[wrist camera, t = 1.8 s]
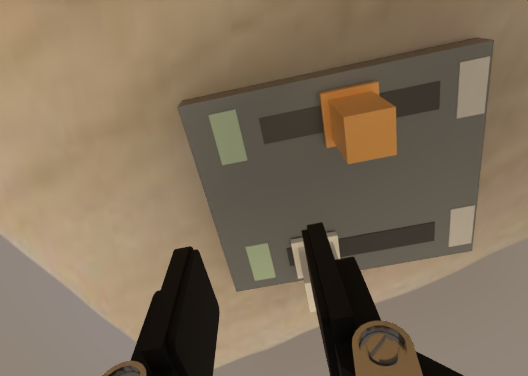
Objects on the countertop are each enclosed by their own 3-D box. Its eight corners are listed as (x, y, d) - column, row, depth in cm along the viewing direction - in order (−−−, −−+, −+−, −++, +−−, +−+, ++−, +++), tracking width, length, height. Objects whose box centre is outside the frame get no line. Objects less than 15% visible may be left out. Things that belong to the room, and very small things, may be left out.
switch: (336, 231, 29) (350, 270, 25) (340, 266, 31) (355, 309, 27) (290, 239, 29) (297, 279, 25) (297, 274, 31) (304, 317, 27)
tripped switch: (375, 80, 24) (404, 96, 19) (378, 134, 25) (405, 160, 21) (318, 92, 24) (334, 110, 19) (325, 145, 26) (340, 173, 21)
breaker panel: (476, 37, 24) (494, 39, 23) (460, 237, 33) (472, 251, 31) (182, 100, 26) (176, 107, 24) (237, 277, 34) (236, 292, 32)
